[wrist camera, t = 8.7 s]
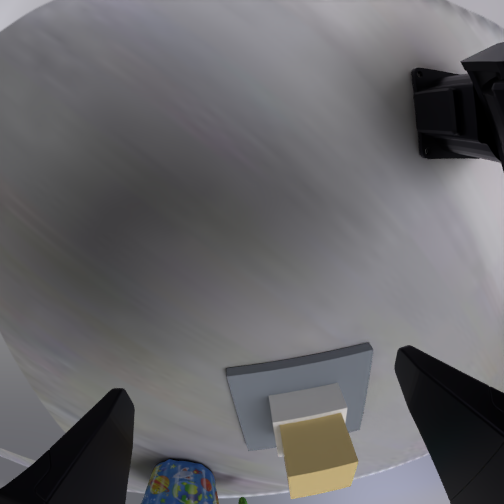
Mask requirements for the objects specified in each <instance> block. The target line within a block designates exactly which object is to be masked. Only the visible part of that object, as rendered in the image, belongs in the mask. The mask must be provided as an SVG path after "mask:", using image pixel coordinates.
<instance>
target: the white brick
mask: <svg viewBox="0 0 504 504" xmlns="http://www.w3.org/2000/svg"><path fill="white" fill-rule="evenodd" d="M269 402H270V409H271V415H272V422H273V428H274V434H275V440H276V446H277V452H278V457H282V456H284V454H283V447H282V440H281V433H280V425H282V424H288V423H294V422H299V421H305V420H310V419H315V418H319V417H324V416H328V415H333V414H337V413H341V414H342V416H343V419H344V422H346V415H347V405H346V402H345V400H344V397H343V395H342V392H341V390H340V387H339V385H338V383H334V384H329V385H325V386H320V387H315V388H310V389H305V390H300V391H294V392H288V393H282V394H276V395H270V396H269Z"/></svg>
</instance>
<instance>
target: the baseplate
mask: <svg viewBox="0 0 504 504" xmlns="http://www.w3.org/2000/svg"><path fill="white" fill-rule="evenodd" d="M372 355H373V348H372V347H371V345H370V343H365V344H360V345H356V346H352V347H348V348H343V349H339V350H334V351H329V352H324V353H319V354H314V355H309V356H304V357H298V358H293V359H287V360H281V361H275V362H269V363H262V364H255V365H248V366H240V367H232V368H227V379H228V383H229V387H230V390H231V394H232V397H233V401H234V404H235V408H236V411H237V415H238V418H239V421H240V425H241V428H242V431H243V435H244V438H245V441H246V445H247V448H248V451H252V450H261V449H268V448H275V447H277V446H276V440H275V434H274V428H273V422H272V415H271V409H270V402H269V396H270V395H276V394H282V393H288V392H294V391H300V390H305V389H310V388H315V387H320V386H325V385H329V384H334V383H338V385H339V387H340V390H341V392H342V395H343V397H344V400H345V402H346V405H347V415H346V422H345V425H346V427H347V430H348V433H349V432H353V431H357V430H360V425H361V421H362V416H363V411H364V405H365V400H366V394H367V389H368V382H369V376H370V370H371V363H372Z"/></svg>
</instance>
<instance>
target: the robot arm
mask: <svg viewBox="0 0 504 504" xmlns="http://www.w3.org/2000/svg"><path fill="white" fill-rule="evenodd" d="M461 63H462V65H463V67H464V69H465V71H467V72H468V74H462V75H458V74H453V73H448V72H443V71H437V70H431V69H424V68H415V69H413V70H412V72H411V76H412V82H413V89H414V103H415V111H416V122H417V129H418V137H419V152H420V155H421V156H422V157H423V158H427V159H443V158H474V159H479V158H482V159H487V160H491V161H496V162H500V163H501V164H502V167H503V171H504V42H502V43H498V44H496V45H493V46H491V47H489V48H487V49H485V50H483V51H481V52H479V53H477V54H475V55H473V56H471V57H469V58H467V59H465V60H463V61H461ZM417 72H418V73H419V74H420V78H419V77H418V75H417ZM426 149H427V151H428V152H427V154H426V153H425V150H426ZM395 373H396V376H397V378H398V381H399V384H400V387H401V389H402V392H403V395H404V398H405V401H406V403H407V406H408V409H409V411H410V413H411V415H412V417H413V419H414V421H415V423H416V425H417V428H418V430H419V432H420V434H421V436H422V438H423V440H424V443H425V445H426V447H427V449H428V451H429V453H430V455H431V458H432V460H433V462H434V465H435V467H436V469H437V472H438V474H439V476H440V479H441V481H442V483H443V486H444V488H445V491H446V493H447V495H448V498H449V500H450V503H451V504H504V393H503V392H501V391H499V390H497V389H495V388H493V387H489V386H488V385H487V384H485V383H483V382H481V381H479V380H477V379H475V378H473V377H471V376H469V375H467V374H465V373H463V372H461V371H459V370H457V369H455V368H453V367H451V366H449V365H448V364H446V363H444V362H442V361H440V360H438V359H436V358H434V357H432V356H430V355H428V354H426V353H424V352H422V351H420V350H419V349H417V348H415V347H413V346H410V345H408V346H404V347H401V348H399V349H398V351H397V356H396V361H395ZM134 412H135V409H134V405H133V403H132V401H131V399H130V397H129V396H128V394H127V392H126V390H125V389H123V388H114V389H112V390H110V391H109V392H108V393H107V394H106V395H105V396H104V397H103V398H102V399H101V400H100V401H99V402H98V403H97V404H96V405H95V406H94V407H93V408H92V409H91V410H90V411H88V412H87V413H86V414H85V415H84V416H83V417H82V418H81V419H80V420H79V421H78V422H77V423H76V424H75V425H74V426H73V427H72V428H71V429H70V430H69V431H68V432H67V433H65V435H63V436H62V438H60V439H59V440H58V441H57V442H56V443H55V444H54V445H53V446H52V447H51V448H50V450H48V451H47V452H46V453H44V454H43V455H42V456H41V457H40V458H39V459H38V460H37V461H36V462H35V463H34V464H32V465H31V466H30V467H29V468H27V469H26V470H25V471H24V472H22V473H21V474H20V475H19V476H17V477H16V478H15V479H13V480H12V481H11V482H9V483H8V484H7V485H5V486H4V487H2V488H1V489H0V504H125V500H126V492H127V484H128V477H129V470H130V463H131V456H132V449H133V430H134Z"/></svg>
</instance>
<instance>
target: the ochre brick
mask: <svg viewBox="0 0 504 504" xmlns="http://www.w3.org/2000/svg"><path fill="white" fill-rule="evenodd" d="M280 433H281V440H282V447H283V454H284V460H285V466H286V472H287V478H288V484H289V490H290V496H291V499H294V498H300V497H305V496H311V495H315V494H320V493H325V492H329V491H333V490H337V489H341V488H345V487H349V486H351V484H352V481H353V477H354V474H355V471H356V468H357V464H358V459H357V456H356V453H355V450H354V447H353V444H352V442H351V439H350V436H349V433H348V430H347V427H346V425H345V422H344V419H343V416H342V414H341V413H337V414H333V415H328V416H324V417H319V418H315V419H310V420H305V421H299V422H294V423H288V424H282V425H280Z"/></svg>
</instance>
